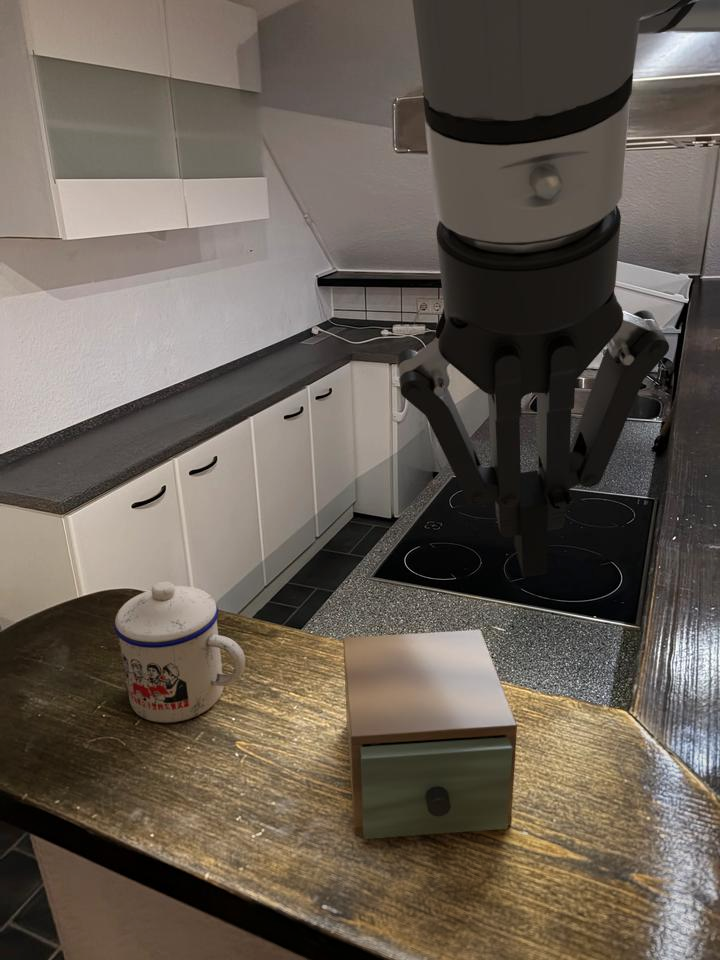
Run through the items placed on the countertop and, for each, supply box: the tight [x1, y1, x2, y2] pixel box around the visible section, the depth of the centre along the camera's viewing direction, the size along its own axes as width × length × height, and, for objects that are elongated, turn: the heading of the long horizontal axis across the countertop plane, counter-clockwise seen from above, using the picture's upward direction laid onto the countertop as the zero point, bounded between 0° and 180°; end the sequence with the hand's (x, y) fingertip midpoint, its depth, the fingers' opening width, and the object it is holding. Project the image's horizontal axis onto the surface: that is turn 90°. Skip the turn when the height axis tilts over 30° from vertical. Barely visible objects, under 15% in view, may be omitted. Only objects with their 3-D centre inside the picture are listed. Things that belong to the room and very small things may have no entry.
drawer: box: [360, 736, 512, 840], centre depth 58 cm, size 12×10×7 cm
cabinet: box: [342, 629, 518, 837], centre depth 60 cm, size 12×12×9 cm
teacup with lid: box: [113, 580, 246, 724], centre depth 69 cm, size 12×9×12 cm
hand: (530, 558), depth 48 cm, fingers closed
